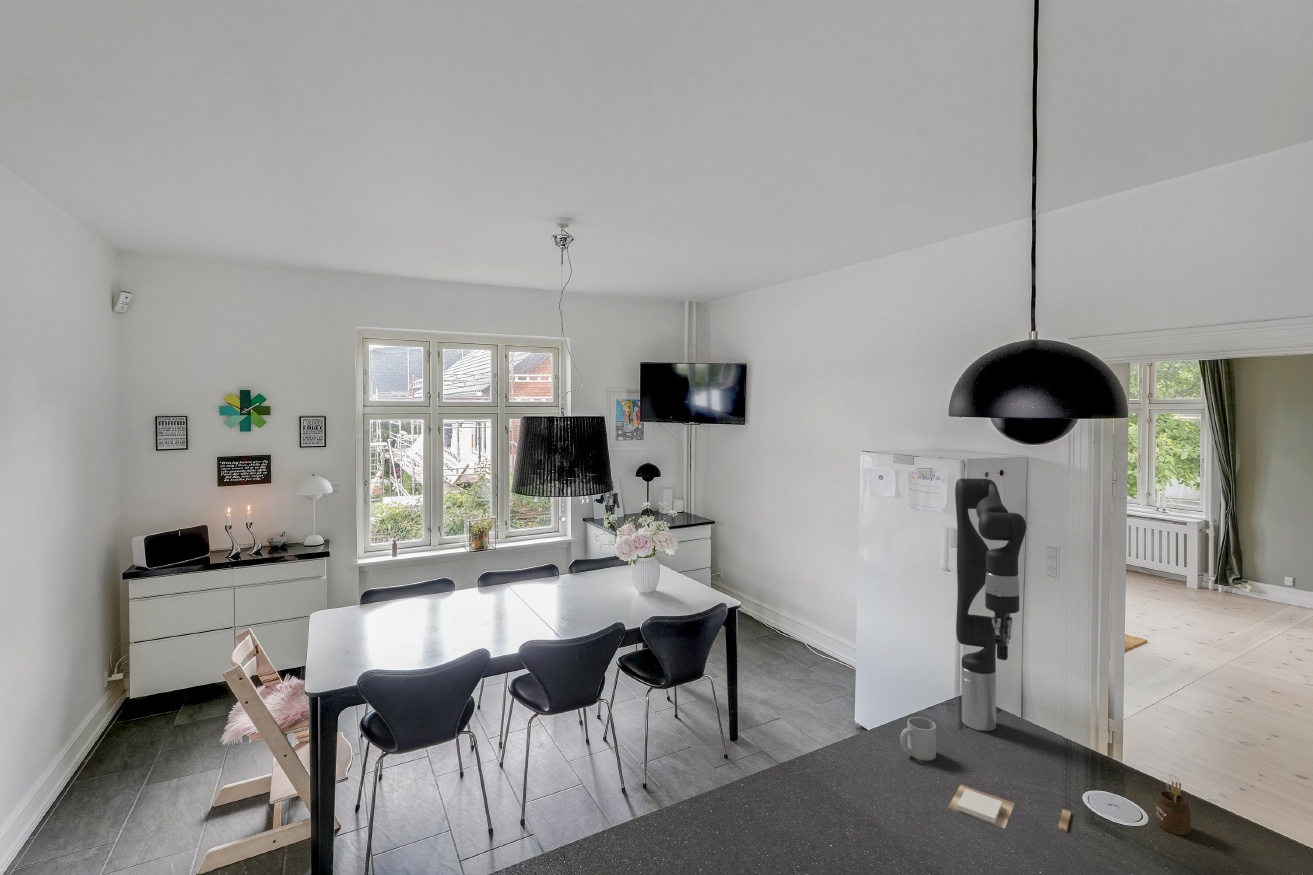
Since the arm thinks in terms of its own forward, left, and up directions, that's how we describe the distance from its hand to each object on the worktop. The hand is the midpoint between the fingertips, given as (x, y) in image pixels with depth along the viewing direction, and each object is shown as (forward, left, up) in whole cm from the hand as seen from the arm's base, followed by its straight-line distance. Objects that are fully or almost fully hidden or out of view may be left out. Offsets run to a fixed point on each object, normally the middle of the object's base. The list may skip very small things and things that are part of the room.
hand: (1002, 658), depth 153 cm
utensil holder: (-5, +33, -32) cm, 46 cm away
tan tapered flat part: (+11, +14, -32) cm, 37 cm away
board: (+14, -2, -32) cm, 35 cm away
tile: (+12, -2, -31) cm, 33 cm away
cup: (0, -21, -32) cm, 38 cm away
